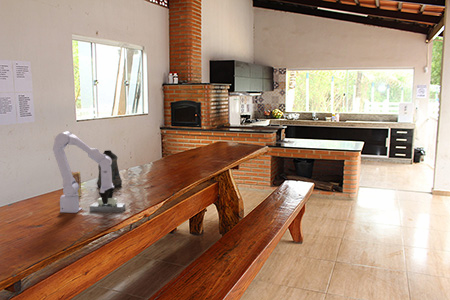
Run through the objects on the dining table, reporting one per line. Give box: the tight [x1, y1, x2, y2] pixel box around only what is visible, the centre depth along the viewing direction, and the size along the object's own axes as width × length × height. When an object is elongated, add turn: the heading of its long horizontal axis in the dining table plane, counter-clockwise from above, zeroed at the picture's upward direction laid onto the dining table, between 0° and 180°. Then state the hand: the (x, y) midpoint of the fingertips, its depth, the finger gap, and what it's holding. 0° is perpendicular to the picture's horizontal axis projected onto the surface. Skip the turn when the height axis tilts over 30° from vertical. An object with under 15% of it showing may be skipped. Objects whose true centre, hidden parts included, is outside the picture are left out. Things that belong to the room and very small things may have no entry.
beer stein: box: [96, 149, 123, 190], centre depth 271 cm, size 16×19×25 cm
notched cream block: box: [97, 197, 118, 206], centre depth 225 cm, size 10×3×6 cm, turn 86°
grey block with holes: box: [89, 202, 126, 213], centre depth 225 cm, size 18×7×3 cm, turn 86°
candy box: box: [71, 171, 82, 198], centre depth 250 cm, size 9×4×15 cm, turn 96°
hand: (107, 202), depth 224 cm, fingers open, 6 cm apart
